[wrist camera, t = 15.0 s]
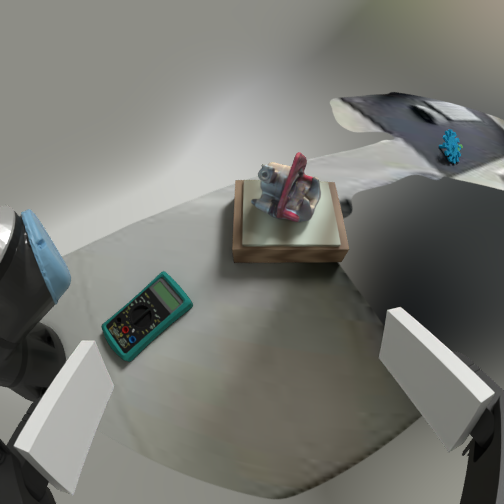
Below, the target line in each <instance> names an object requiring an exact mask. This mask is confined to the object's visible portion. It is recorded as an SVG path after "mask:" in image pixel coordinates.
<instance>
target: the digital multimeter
mask: <svg viewBox="0 0 504 504" xmlns="http://www.w3.org/2000/svg"><path fill="white" fill-rule="evenodd" d="M192 307H193V303H192V302H191V300H190V299H189V297H188V296H187V295H186V293H185V292H184V291H183V290H182V288H181V287H180V286H179V285H178V284H177V283H176V282H175V281H174V280H173V279H172V278H171V277H170V276H169V275H168V274H167V273H166V272H165V271H163V272H161V273H160V274H159V275H158V276H157V277H156V278H155V279H154V280H153V281H151V282H150V283H149V284H148V285H147V286H146V287H145V288H144V289H143V290H142V291H141V292H140V293H139V294H138V295H136V296H135V297H134V298H133V299H132V300H131V301H130V302H129V303H127V304H126V305H125V306H124V307H123V308H122V309H120V310H119V311H118V312H117V313H116V314H114V315H113V316H112V317H111V318H110V319H108V320H107V321H106V322H105V323H103V324H102V330H103V333H104V336H105V338H106V340H107V342H108V344H109V345H110V347H111V348H112V349H113V350H114V352H115V353H116V354H117V355H119V356H120V357H121V358H122V359H123V360H125V361H128V362H131V361H132V360H133V359H134V358H135V357H136V356H137V355H138V354H139V353H140V352H141V351H142V350H143V349H144V348H145V347H146V346H147V345H148V344H149V343H151V342H152V341H153V340H154V339H155V338H156V337H157V336H158V335H159V334H160V333H162V332H163V331H164V330H165V329H166V328H167V327H169V326H170V325H171V324H172V323H173V322H174V321H176V320H177V319H178V318H179V317H181V316H182V315H183V314H184V313H186V312H187V311H188V310H189V309H191V308H192ZM156 326H157V327H156ZM147 334H148V335H147Z"/></svg>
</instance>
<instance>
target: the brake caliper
mask: <svg viewBox="0 0 504 504" xmlns="http://www.w3.org/2000/svg"><path fill="white" fill-rule="evenodd" d="M306 163H307V160H306V157H305V156H304V155H302V154H301V153H297V154H296V156H295V158H294V161H293V164H292V167H290V166H286V165H281V164H278V163H274V162H271V163H269V164H268V165H266V164H262V169H261V170H260V171H259V173H258V177H259V179H260V180H261V182H260V185H261V186H260V187H261V189H262V195H261V198H260V199H252V200H251V203H252V204H253V205H254V206H255V207H256V208H258V209H259V210H261V211H263V212H265V213H267V214H269V215H271V216H272V217H274V218H277V219H288V220H292V221H294V222H303V221H309V220H310V219H311V218H312V216H313V214H314V211H315V208H316V205H317V204H318V202H319V200H320V198H321V190H320V182H319V179H318V178H316V177H311V176H307V175H305V174H304V169H305V167H306Z"/></svg>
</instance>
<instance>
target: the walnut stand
mask: <svg viewBox="0 0 504 504" xmlns="http://www.w3.org/2000/svg"><path fill="white" fill-rule="evenodd" d="M260 182H261V180H236V182H235V201H234V223H233V246H232V250H233V258H234V263H283V262H342V260H343V259H344V257H345V255H346V254H347V252H348V250H349V246H348V241H347V236H346V231H345V226H344V221H343V216H342V212H341V207H340V203H339V199H338V194H337V190H336V186H335V182H321V181H319V182H320V190H321V198H320V200H319V202H318V204H317V205H316V208H315V211H314V214H313V216H312V218H311V219H310V220H309V221H303V222H294V221H292V220H288V219H277V218H274V217H272V216H271V215H269V214H267V213H265V212H263V211H261V210H259V209H258V208H256V207H255V206H254V205H253V204H252V203H251V200H252V199H260V198H261V195H262V189H261V187H260V186H261V185H260Z"/></svg>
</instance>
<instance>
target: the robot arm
mask: <svg viewBox="0 0 504 504" xmlns="http://www.w3.org/2000/svg"><path fill="white" fill-rule="evenodd" d="M70 282H71V276H70V272H69V270H68V268H67V266H66V264H65V262H64V260H63V258H62V257H61V255H60V253H59V252H58V250H57V248H56V247H55V245H54V243H53V241H52V240H51V238H50V237H49V235H48V233H47V232H46V230H45V228H44V227H43V225H42V224H41V222H40V221H39V219H38V218H37V216H36V215H35V214H34V213H33V212H32V211H31V210H29V209H28V210H26V211H25V212H22V213H21V216H18V215H17V213H16V212H15V211H14V210H13V209H12V208H11V207H10V206H7V205H5V206H0V386H3V387H8V388H10V389H11V390H13V391H14V392H16V393H18V394H19V395H21V396H22V397H24V398H25V399H27V400H30V401H33V403H32V404H31V406H30V407H29V409H28V411H27V413H26V414H25V415H24V417H23V418H22V421H21V422H20V423H19V425H18V427H17V428H16V430H15V432H14V433H13V435H12V437H11V439H10V440H9V442H8V444H7V445H5V444H4V443H3V442H2V440H1V439H0V504H56V502H55V500H54V498H53V495H52V493H51V491H50V489H49V488H48V487H47V485H48V483H51V484H52V485H53V486H54V487H55V488H56V489H58V490H60V491H63V492H66V493H68V494H71V495H73V494H74V491H75V488H76V485H77V482H78V479H79V476H80V473H81V470H82V467H83V464H84V461H85V458H86V456H87V453H88V450H89V448H90V445H91V442H92V440H93V437H94V434H95V432H96V429H97V427H98V424H99V422H100V419H101V417H102V414H103V412H104V410H105V407H106V405H107V402H108V400H109V398H110V395H111V393H112V391H113V388H114V384H113V382H112V380H111V378H110V376H109V373H108V371H107V369H106V367H105V364H104V362H103V359H102V357H101V355H100V352H99V350H98V347H97V344H96V342H95V341H84V340H82V341H81V342H80V344H79V345H78V346H77V348H76V349H75V350H74V352H73V353H72V355H71V356H70V357H69V359H68V360H67V362H66V358H65V352H64V348H63V345H62V343H61V341H60V339H59V337H58V335H57V334H56V333H55V332H54V330H52V329H51V328H50V327H48V326H46V325H44V324H42V323H40V322H39V321H40V320H41V319H42V318H43V317H44V316H45V315H46V314H47V313H48V311H49V310H50V309H51V308H52V307H53V306H54V305H55V304H57V303H58V300H59V298H60V297H61V296H62V295H63V294H64V292H65V291H66V290H67V289H68V288H69V285H70ZM379 359H380V360H381V361H382V363H383V364H384V365H385V366H386V368H387V369H388V370H389V372H390V373H391V374H392V376H393V377H394V378H395V380H396V381H397V382H398V384H399V385H400V386H401V387H402V389H403V390H404V391H405V393H406V394H407V395H408V397H409V398H410V399H411V401H412V402H413V404H414V405H415V406H416V408H417V409H418V410H419V412H420V413H421V414H422V416H423V417H424V419H425V420H426V421H427V422H428V424H429V425H430V427H431V428H432V430H433V431H434V432H435V434H436V435H437V437H438V438H439V439H440V441H441V442H442V444H443V445H444V447H445V448H446V449H447V451H448V452H450V451H452V450H454V449H455V448H457V447H459V446H460V445H462V444H463V443H464V441H465V440H466V439H467V437H468V436H469V434H470V435H471V436H472V437H473V439H472V440H471V441H470V443H469V444H468V445H467V447H466V448H465V450H464V451H463V453H462V455H463V456H464V455H465V454H466V452H467V451H468V450H469V453H468V456H469V458H468V465H467V471H466V477H465V483H464V487H463V492H462V497H461V501H460V504H504V390H502V389H501V388H500V387H499V386H498V385H497V384H496V383H495V382H494V381H493V380H492V379H491V378H490V377H489V376H487V375H486V374H485V373H484V372H483V371H482V370H480V368H479V367H478V366H477V365H474V363H473V362H472V361H471V360H470V359H469V358H468V357H467V356H465V355H463V354H461V353H459V352H454V353H453V352H451V351H450V350H449V349H448V348H447V347H446V346H445V345H444V344H443V343H441V342H440V341H439V340H438V339H437V338H436V337H435V336H433V335H432V334H431V333H430V332H429V331H428V330H427V329H426V328H424V327H423V326H422V325H421V324H420V323H419V322H417V321H416V320H415V319H414V318H413V317H412V316H410V315H409V314H408V313H407V312H406V311H405V310H403V309H402V308H401V307H399V308H394V309H390V310H387V315H386V322H385V328H384V334H383V339H382V345H381V350H380V355H379Z"/></svg>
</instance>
